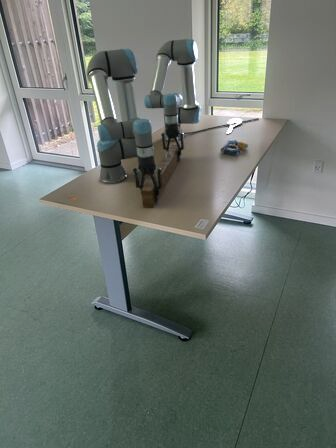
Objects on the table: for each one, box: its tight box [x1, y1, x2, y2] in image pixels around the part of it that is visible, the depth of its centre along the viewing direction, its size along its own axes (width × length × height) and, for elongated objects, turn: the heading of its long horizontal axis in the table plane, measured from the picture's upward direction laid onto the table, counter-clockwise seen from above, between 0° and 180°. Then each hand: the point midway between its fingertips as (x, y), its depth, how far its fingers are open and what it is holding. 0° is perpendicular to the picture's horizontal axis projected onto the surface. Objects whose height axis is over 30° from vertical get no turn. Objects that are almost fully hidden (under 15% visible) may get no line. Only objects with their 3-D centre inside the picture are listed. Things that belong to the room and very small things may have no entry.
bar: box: [140, 144, 179, 208], centre depth 182 cm, size 64×5×9 cm, turn 167°
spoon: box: [226, 117, 243, 135], centre depth 260 cm, size 35×11×2 cm, turn 159°
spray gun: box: [220, 139, 249, 156], centre depth 214 cm, size 21×4×15 cm
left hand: (151, 200), depth 162 cm, fingers closed on bar, 5 cm apart
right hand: (174, 160), depth 206 cm, fingers closed on bar, 5 cm apart
